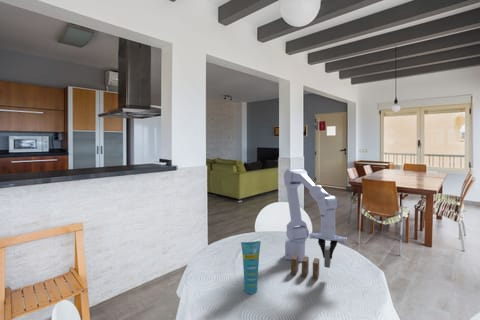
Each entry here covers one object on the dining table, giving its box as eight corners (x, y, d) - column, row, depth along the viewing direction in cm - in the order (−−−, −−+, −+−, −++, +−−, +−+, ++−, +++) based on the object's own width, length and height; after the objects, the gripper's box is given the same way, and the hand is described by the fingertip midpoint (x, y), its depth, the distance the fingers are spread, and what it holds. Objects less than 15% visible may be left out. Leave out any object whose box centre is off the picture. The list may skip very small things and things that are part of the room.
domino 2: (301, 276, 107) (301, 260, 107) (303, 271, 112) (304, 256, 111) (306, 277, 106) (306, 261, 106) (308, 272, 111) (308, 256, 110)
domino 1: (291, 274, 109) (291, 258, 109) (293, 269, 114) (293, 254, 113) (295, 275, 108) (295, 259, 108) (298, 270, 113) (298, 255, 112)
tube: (243, 295, 94) (242, 244, 93) (240, 288, 98) (239, 239, 98) (262, 292, 95) (262, 242, 94) (258, 285, 100) (258, 238, 99)
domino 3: (312, 279, 105) (312, 262, 105) (314, 273, 110) (314, 257, 109) (317, 280, 104) (317, 263, 104) (319, 274, 109) (319, 258, 109)
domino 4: (324, 267, 103) (324, 250, 103) (325, 261, 108) (325, 245, 107) (329, 267, 102) (329, 251, 102) (330, 262, 107) (330, 246, 106)
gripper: (308, 225, 104) (308, 258, 104) (346, 230, 98) (346, 264, 98) (311, 221, 110) (310, 251, 111) (347, 225, 104) (346, 257, 105)
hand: (327, 257), depth 105 cm, fingers closed on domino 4, 2 cm apart
